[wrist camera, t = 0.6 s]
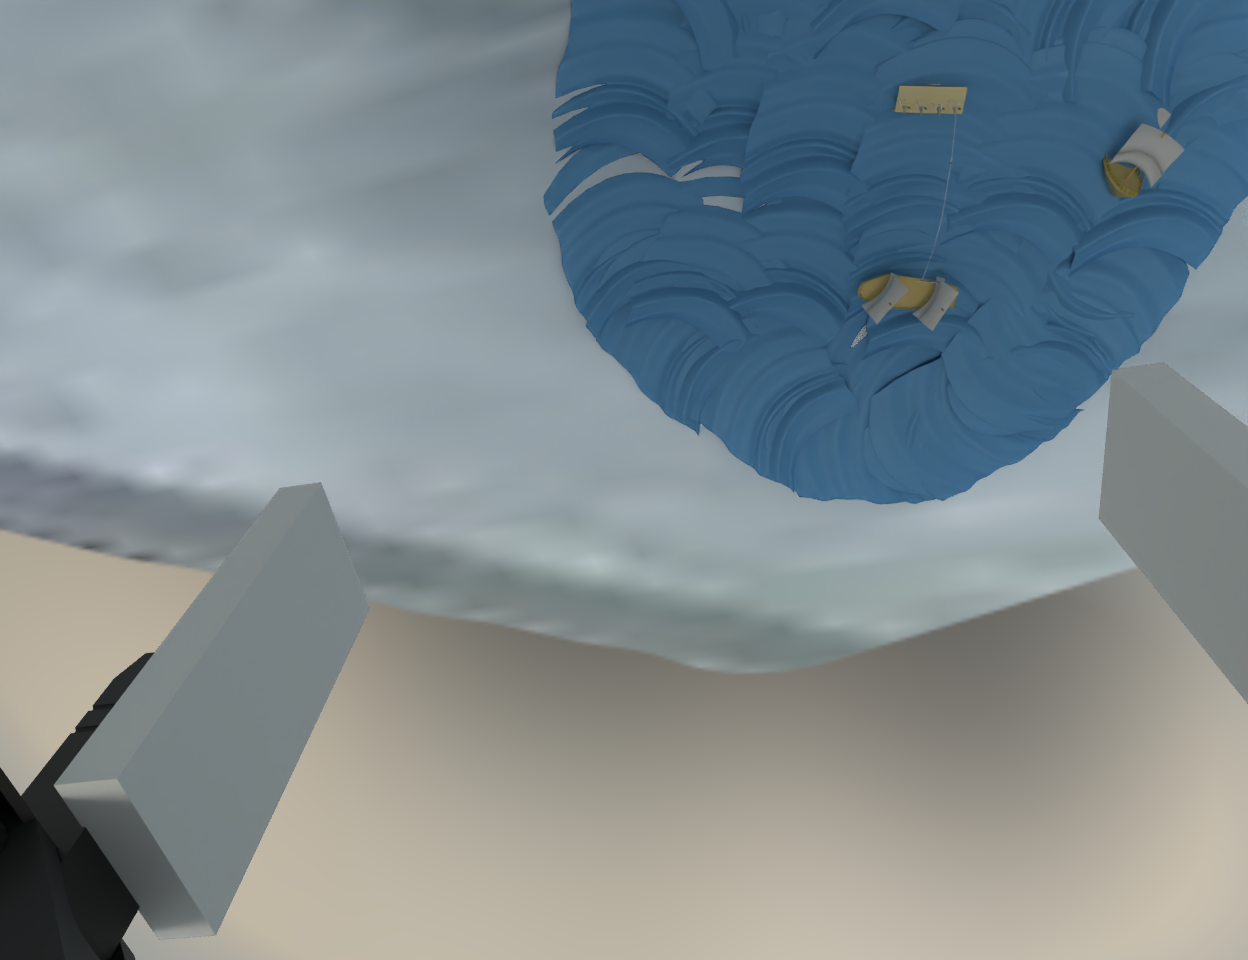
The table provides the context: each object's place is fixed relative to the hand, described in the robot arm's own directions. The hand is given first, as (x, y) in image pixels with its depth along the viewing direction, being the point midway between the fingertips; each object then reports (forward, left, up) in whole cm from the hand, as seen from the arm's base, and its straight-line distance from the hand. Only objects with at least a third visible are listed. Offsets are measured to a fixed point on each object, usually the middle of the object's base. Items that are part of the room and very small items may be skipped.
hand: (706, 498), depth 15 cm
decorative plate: (+1, +9, -27) cm, 29 cm away
